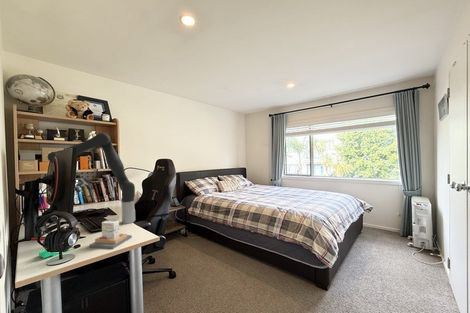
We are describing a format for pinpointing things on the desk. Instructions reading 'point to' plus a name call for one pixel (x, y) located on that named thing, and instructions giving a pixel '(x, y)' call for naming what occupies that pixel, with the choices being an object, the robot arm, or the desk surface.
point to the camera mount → (47, 254)
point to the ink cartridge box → (110, 228)
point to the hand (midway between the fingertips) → (85, 190)
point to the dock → (110, 242)
